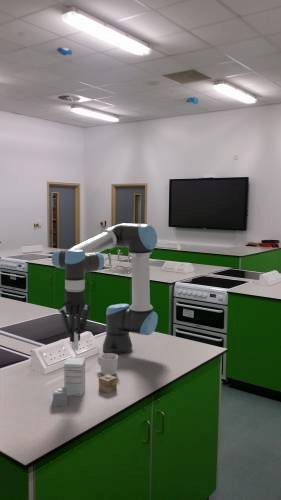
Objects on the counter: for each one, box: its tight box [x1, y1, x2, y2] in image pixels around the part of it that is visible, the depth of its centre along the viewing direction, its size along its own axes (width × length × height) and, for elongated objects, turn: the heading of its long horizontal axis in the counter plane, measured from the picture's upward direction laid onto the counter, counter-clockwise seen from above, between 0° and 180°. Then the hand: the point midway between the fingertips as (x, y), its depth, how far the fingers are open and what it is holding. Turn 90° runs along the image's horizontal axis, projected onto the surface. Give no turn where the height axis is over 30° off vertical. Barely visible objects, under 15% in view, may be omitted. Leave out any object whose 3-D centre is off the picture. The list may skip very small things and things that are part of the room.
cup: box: [97, 352, 119, 376], centre depth 191 cm, size 11×8×8 cm
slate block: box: [52, 386, 68, 408], centre depth 162 cm, size 5×5×5 cm
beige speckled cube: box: [98, 374, 118, 394], centre depth 174 cm, size 5×5×5 cm
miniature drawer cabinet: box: [63, 357, 86, 397], centre depth 171 cm, size 7×7×13 cm
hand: (74, 349), depth 170 cm, fingers closed
